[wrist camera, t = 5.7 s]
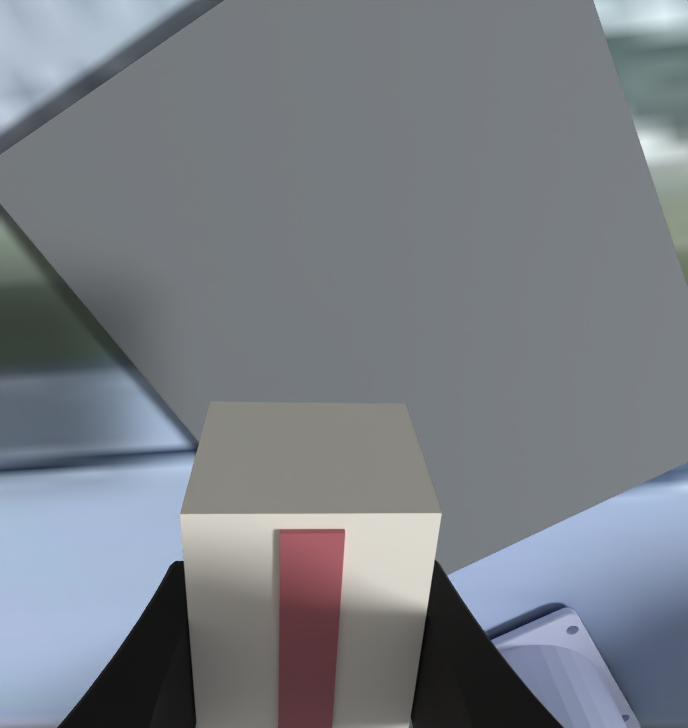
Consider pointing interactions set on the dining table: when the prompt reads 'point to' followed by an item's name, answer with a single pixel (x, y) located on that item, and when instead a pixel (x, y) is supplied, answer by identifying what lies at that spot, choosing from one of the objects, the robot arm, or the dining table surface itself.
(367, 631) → the white rectangular block
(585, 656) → the robot arm
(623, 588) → the dining table surface
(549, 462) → the slate mat
